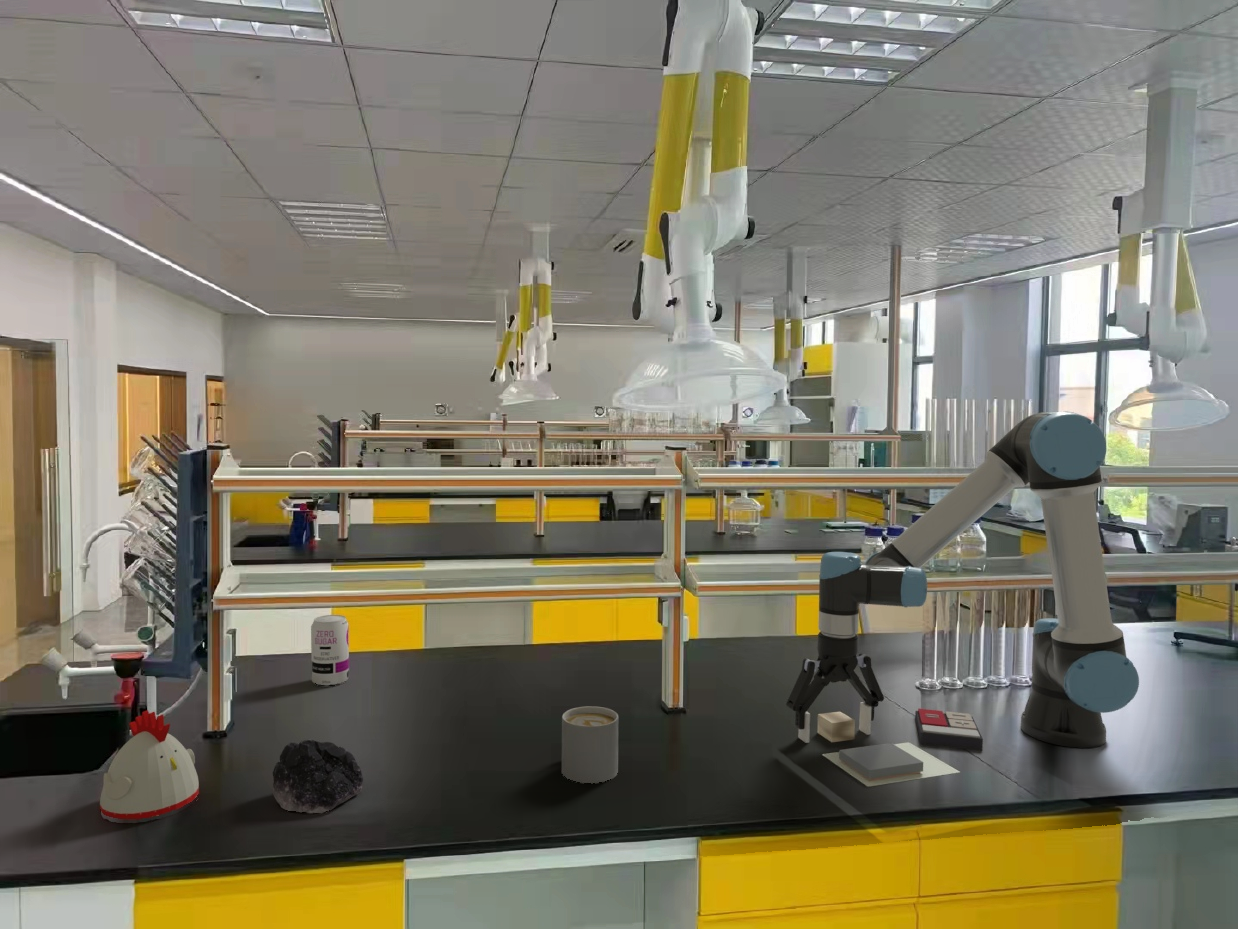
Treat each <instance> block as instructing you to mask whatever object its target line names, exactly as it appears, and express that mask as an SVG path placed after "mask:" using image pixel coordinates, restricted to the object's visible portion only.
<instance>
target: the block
mask: <svg viewBox="0 0 1238 929" xmlns="http://www.w3.org/2000/svg"><path fill="white" fill-rule="evenodd" d="M855 723H856V720H855V719H854V718H851V717H850V716H848V715H847V714H845V713H843V712H841V711H834V712H824V713H818V714H817V734H818V735H820V736H822V737H823V738H824V739H826V740H828V741H829V742H830V743H836V742H837V743H838V742H844V741H852V740H855V732H856V731H855V730H856V729H855V725H856V724H855Z"/></svg>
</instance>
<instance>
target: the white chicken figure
mask: <svg viewBox="0 0 1238 929" xmlns="http://www.w3.org/2000/svg"><path fill="white" fill-rule="evenodd" d="M141 713H142V714H141V715H138V716H136V717H135V720H134V721H131V722H129V729H130V731H131V734H132V736H133V737H131V738H130V739H129V740H128V741H127V742H126V743H125V744H123V746H122V747H121V748H120V749H119V750H118V751H117V753H116V755H115V756H114V757H113V759H112V761H111V763H110V765H109V768H108V771H107V772H104V773H103V780H102V781H103V786H102V789H101V794H100V799H99V810H100V809H101V811H102V813H103V814H104V815H106V816H109V817H113V818H118V819H142V818H149V817H153V816H159V815H161V814H164V813H167V812H170V811H172V810H175V809H179V808H181V807H183V806H184V805H186V804H188V803H190V802H192V801H193V800H194V799H195V798H196V797H197V795H198V794H199V795H200V787H199V786H200V784H199V783H200V782H199V776H198V773H197V770H196V767H195V763H196V757H195V753H194V751H193V750H192V749H191V748H186V747H185V746H184V745H183V744H182V743H181V742H180V741H179V739H177V738H176V737H175V736H173V735H172V734H170V733H169V730H170V726H171V723H170V722H168V723H167V724H165V719H164V718H165V717H164V714H160V715H158V716H156V712H155V711H151V712H149V710H148V709H147V710H145V711H142V712H141Z"/></svg>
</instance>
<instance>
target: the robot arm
mask: <svg viewBox="0 0 1238 929" xmlns="http://www.w3.org/2000/svg"><path fill="white" fill-rule="evenodd" d="M1106 454H1107V441H1106V438H1105V435H1104V433H1103V431H1102V429H1101V428H1100V427H1099V426H1098V424H1097V423H1096V422H1094V421H1093V420H1092V419H1090V418H1089V417H1087V416H1085V415H1082V414H1079V413H1077V412H1074V411H1073V412H1071V411H1069V410H1068V411H1066V410H1065V411H1053V412H1049V411H1048V412H1047V411H1046V412H1037V413H1033V414H1030V415H1029V416H1027V417H1024V419H1021V420H1020V421H1019V422H1018V423H1017V424H1016V425H1015V426H1014V427H1012V428H1011V430H1009V431H1008V432H1007V433H1006V434H1005V435H1004V436H1003V437H1002V438H1001V439H1000V440H998V441H997V443H995V444H994V445H993V446H992V447H991V448H990V449H989V450H988V451H986V458H985V460H984V461H983V462H982V463H981V464H979V465H978V466H977V467H976V468H975V469H974V470H972V472H970V473H969V474H968V475H967V476H966V477H965V478H963V479H962V480H961V481H960V482H959V483H958V484H957V485H955V486H954V487H953V488H952V489H951V490H949V492H947V493H946V494H945V495H944V496H943V497H942V498H941V499H939V501H937V502H936V503H935V504H934V505H932V507H930V508H929V509H927V511H925V513H924V514H922V515H921V516H920V517H919V518H917V520H916V521H914V522H913V523H912V524H911V525H909V527H907V528H906V529H905V530H904V531H902V532H901V534H899V535H898V536H897V537H896V538H895V539H894V540H893V541H892V542H890V543H889V544H888V545H887V546H886V547H884V549H882V550H881V551H878V552H874V553H872V554H871V555H869V556H868V557H867V559H866V560H865V562H864V563H862V558H861V556H860V554H857V553H855V552H846V551H831V552H826V553H824V554H823V555H822V557H821V559H820V566H819V567H820V568H819V580H818V581H819V583H818V584H819V586H818V587H819V588H818V589H819V592H818V596H819V597H818V627H817V628H818V631H819V632H818V633H817V654H818V657H817V659H816V660H813V659H812V660H810V659H809V658H804V659H803V660H802V666H801V670H800V672H799V675H798V677H797V679H796V681H795V684H794V686H793V688H792V689H791V693H790V695H789V696H788V699H787V700H786V707H787V708H789V709H791V710H792V711H794V712H795V728H797V729H798V736H797V737H798V739H800V740H801V741H802V742H804V743H806V744H808V743H810V727H811V726H810V725H811V713H810V712H808V710H809V709H810V708H811V706H812V704H814V702H815V701H816V699H817V698H818V696H820V694H821V692H822V691H823V689H824V688H825V687H827V686H828V685H829V684H830V683H832V684H833V683H838V682H843V683H844V682H847V681H848V682H849V683H850V685H851V686H852V687H853V688H854V690H855V691H856V693H857V694H858V695H859V696H860V697H861V698H862V700H863V701H864V702H863V701H862V702H861V701H860V702H859V721H858V725H859V726H858V730H859V731H860V732H862V733H864V734H865V735H868V736H869V735H871V734H872V733H871V732H872V731H871V730H872V722H873V721H874V719H875V708H877V707H878V706H879V702H881V703H882V702H883V701H884V699H885V697H884V694H883V692H882V689H881V686H880V685H879V682H878V680H877V678H876V675H875V673H874V670H873V668H872V658H871V656H868V655H866V654H864V653H863V652H862V653H859V650H858V648H859V637H858V635H857V634H858V633H859V632H860V631H859V630H860V628H859V626H860V625H859V623H860V621H859V620H860V605H875V606H889V607H904V608H911V607H912V608H914V607H915V608H916V607H917V608H919V607H923V606H924V605H925V603H926V601H927V595H928V579H927V573H926V571H925V569H924V568H922V567H923V566H925V565H926V564H927V563H928V562H929V561H931V559H933V558H935V556H937V554H938V553H940V552H941V551H942V550H944V549H945V547H947V546H948V545H949V544H951V542H953V541H954V540H955V539H956V538H957V537H959V536H960V535H961V534H962V533H964V531H966V530H967V529H968V528H970V526H972V524H974V523H975V522H976V521H978V520H979V519H980V518H981V517H982V516H983V515H985V514H986V513H987V512H988V511H989V510H991V509H992V507H994V506H995V505H996V504H997V503H998V502H999V501H1001V500H1002V499H1003V498H1005V496H1007V495H1008V494H1009V493H1010V492H1011V491H1013V490H1014V489H1015V488H1024V487H1026V486H1027V485H1028V484H1029V488H1030V489H1029V490H1030V491H1031V492H1033V493H1034V494H1035V495H1037V496H1038V497H1039V498H1040V502H1041V508H1042V510H1041V511H1042V516H1043V523H1044V529H1045V537H1046V544H1047V550H1048V551H1047V552H1048V556H1049V557H1048V558H1049V566H1050V573H1051V578H1052V586H1053V593H1054V600H1055V601H1054V602H1055V608H1056V616H1057V618H1052V617H1051V618H1048V617H1047V618H1046V617H1045V618H1040V619H1038V620H1036V621H1035V623H1034V627H1033V633H1032V637H1033V646H1032V667H1031V668H1032V669H1031V670H1032V675H1031V692H1030V694H1029V696H1028V699H1027V702H1026V704H1025V707H1024V710H1023V711H1022V714H1021V715H1020V729H1021V731H1022V732H1024V733H1025V734H1026V735H1027V736H1030V737H1031V738H1034V739H1036V740H1039V741H1042V742H1044V743H1049V744H1052V745H1057V746H1062V747H1070V748H1077V749H1079V748H1080V749H1081V748H1082V749H1083V748H1084V749H1089V748H1096V747H1101V746H1103V745H1105V744H1106V742H1107V728H1106V725H1105V724H1104V720H1103V717H1102V713H1103V714H1105V713H1106V714H1107V713H1112V712H1115V711H1118V710H1121V709H1123V708H1125V707H1126V706H1127V705H1128V704H1129V703H1130V702H1131V701H1132V700H1133V699H1134V698H1135V697H1136V694H1137V693H1138V691H1139V687H1140V686H1139V685H1140V677H1139V672H1138V671H1137V668H1136V666H1135V665H1134V663H1133V662H1132V660H1130V659H1129V657H1127V651H1126V644H1125V637H1124V633H1123V630H1122V629H1120V628H1119V627H1118V626H1117V625H1115V624H1114V622H1113V621H1112V614H1111V607H1110V599H1109V592H1108V585H1107V579H1106V572H1105V564H1104V563H1105V562H1104V557H1103V550H1102V542H1101V535H1100V528H1099V522H1098V514H1097V507H1096V501H1095V500H1096V499H1095V492H1096V490H1097V489H1098V488H1099V487H1100V486H1101V485H1102V482H1103V480H1102V473H1101V465H1102V463H1103V462H1104V460H1105V457H1106ZM858 653H859V654H858ZM857 655H858V656H857ZM857 667H859V670H860V672H861V675H862V677H863V679H864V681H865V684H866V686H867V687H866V686H865V685H864V684H863V682H862V680H861V679H860V677H859V676H858V674H857V673H856V672H855V671H854V670H856V668H857ZM817 669H818V670H817Z"/></svg>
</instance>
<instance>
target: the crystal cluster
mask: <svg viewBox="0 0 1238 929" xmlns="http://www.w3.org/2000/svg"><path fill="white" fill-rule="evenodd" d="M272 777H273V783H272V784H273V785H272V788H273V792H272V795H273V796H274V799H275V800H276V802H277V803H278V804H279V805H280V809H281V808H282V809H283V810H285V811H286V810H288V811H296V813H302V812H308V813H307V814H313V813H318V812H320V811H328V810H330V811H332V810H333V809H334V808H336V807H337V806H339V805H340V804H344V803H345V802H347V801H348V800H349V799H351V798H352V797H355V796H356V795H359V793H361V792H362V790H363V781H364V775H363V772H362V769H361V766H359V764H358V762H357V761H356V758H355V756H354V755H353V754H352V753H351V752H350V751H349V750H347V749H346V748H344V747H343V746H338V745H336V744H335V743H334V742H332V741H323V742H320V741H316V740H313V739H305V740H301V741H300V742H299V743H296V742H290V743H287V744H286V745H285V746H284V748H283V749H282V751H281V753H280V754H279V761H278V762H276V764H275V765H274V768H273V771H272ZM288 811H287V812H288ZM328 812H329V811H328Z"/></svg>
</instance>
